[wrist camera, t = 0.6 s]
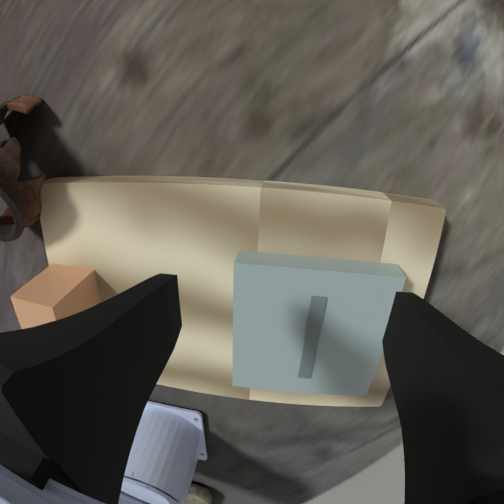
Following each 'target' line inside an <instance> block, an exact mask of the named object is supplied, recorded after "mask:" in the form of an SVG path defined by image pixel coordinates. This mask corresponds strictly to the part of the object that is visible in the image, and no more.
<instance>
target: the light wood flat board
mask: <svg viewBox="0 0 504 504" xmlns="http://www.w3.org/2000/svg"><path fill="white" fill-rule="evenodd" d="M40 198H41V203H42V211H41V212H40V213H41V216H40V221H41V227H42V233H43V238H44V244H45V249H46V254H47V258H48V263H49V266H50V265H52V264H59V265H66V266H73V267H79V268H86V269H93V270H95V276H96V281H97V286H98V291H99V296H100V300H101V302H103V301H105V300H107V299H109V298H112V297H114V296H116V295H118V294H119V293H121V292H123V291H125V290H127V289H129V288H131V287H133V286H135V285H137V284H138V283H140V282H142V281H144V280H146V279H148V278H150V277H152V276H155V275H157V274H160V273H163V274H173V275H177V278H178V289H179V299H180V309H181V318H182V328H181V331H180V334H179V337H178V340H177V343H176V345H175V348H174V350H173V352H172V354H171V356H170V358H169V360H168V362H167V364H166V366H165V368H164V370H163V372H162V374H161V376H160V378H159V380H158V382H157V384H159V385H164V386H169V387H174V388H179V389H184V390H189V391H195V392H201V393H207V394H213V395H219V396H226V397H233V398H241V399H249V400H258V401H267V402H277V403H289V404H303V405H320V406H355V407H374V406H381V405H382V403H383V401H384V399H385V397H386V395H387V393H388V390H389V388H390V386H391V384H390V381H389V377H388V373H387V370H386V366H385V359H384V352H383V353H382V356H381V359H380V362H379V364H378V367H377V370H376V372H375V375H374V378H373V380H372V383H371V385H370V388H369V390H368V393H367V395H334V394H313V393H298V392H285V391H274V390H264V389H255V388H247V387H239V386H232V377H233V276H234V261H235V258H236V256H237V254H238V251H239V250H242V251H253V252H264V253H276V254H287V255H298V256H310V257H321V258H332V259H344V260H355V261H366V262H377V263H389V264H398V265H399V267H400V269H401V270H402V272H403V274H404V275H405V277H406V279H405V283H404V286H403V290H402V292H413V293H414V294H416V295H418V296H419V297H421V298H422V299H424V296H425V293H426V289H427V286H428V283H429V279H430V276H431V272H432V269H433V265H434V261H435V257H436V254H437V250H438V246H439V241H440V237H441V233H442V228H443V224H444V219H445V214H446V208H445V207H443V206H442V205H440V204H439V203H437V202H436V201H435V200H432V199H425V198H419V197H412V196H406V195H399V194H391V193H384V192H376V191H368V190H360V189H352V188H343V187H334V186H324V185H314V184H303V183H291V182H279V181H265V180H250V179H232V178H211V177H183V176H81V177H54V178H50V179H47V180H45V181H44V183H43V186H42V188H41V193H40Z"/></svg>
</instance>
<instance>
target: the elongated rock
mask: <svg viewBox="0 0 504 504" xmlns="http://www.w3.org/2000/svg"><path fill="white" fill-rule="evenodd" d="M210 503H212V496H211V493H210V492H209V490H208V489H206V488H205V487H202V486H199V485H197V484H192V483H191V485H190V488H189V492H188V495H187V498H186V500H185V501H184V503H183V504H210Z"/></svg>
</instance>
